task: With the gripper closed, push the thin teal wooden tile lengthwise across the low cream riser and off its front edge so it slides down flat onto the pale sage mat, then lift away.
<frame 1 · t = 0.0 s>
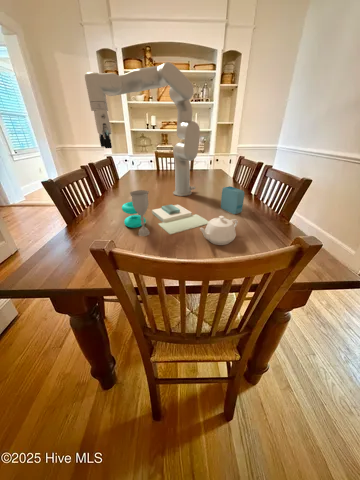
hand: (106, 147, 101), 31 cm above the table, tool pointing down, fingers open, 9 cm apart
mat: (184, 223, 94), on the table
teapot: (218, 240, 81), on the table
riser: (171, 214, 104), on the table
data package: (230, 211, 108), on the table
donuts: (135, 224, 95), on the table
tile: (170, 210, 104), point 2 cm above the table, touching riser
chalice: (144, 233, 87), on the table
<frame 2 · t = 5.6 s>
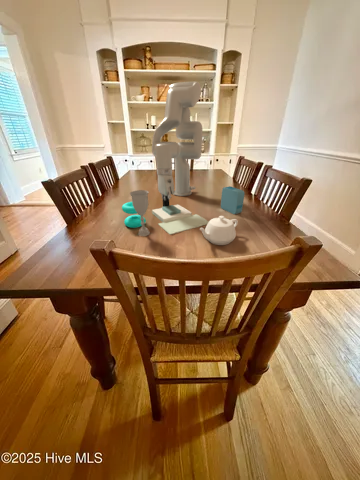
hand: (166, 206, 107), 3 cm above the table, tool pointing down, fingers closed
tile: (171, 211, 103), point 2 cm above the table, touching gripper
everything else where it was.
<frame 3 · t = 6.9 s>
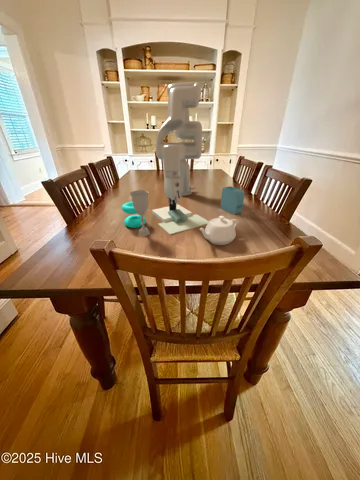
hand: (172, 211, 101), 3 cm above the table, tool pointing down, fingers closed
tile: (177, 216, 97), point 2 cm above the table, tilted 7°, touching gripper
everything else where it was.
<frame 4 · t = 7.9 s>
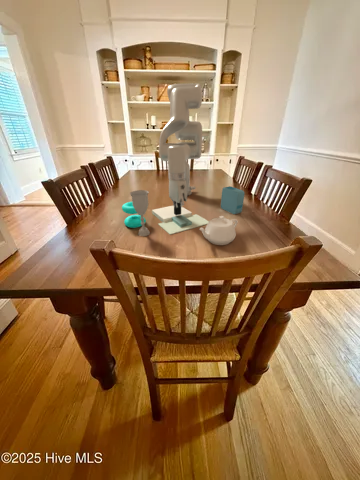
hand: (177, 214, 98), 3 cm above the table, tool pointing down, fingers closed
tile: (181, 222, 95), resting on mat
everything else where it was.
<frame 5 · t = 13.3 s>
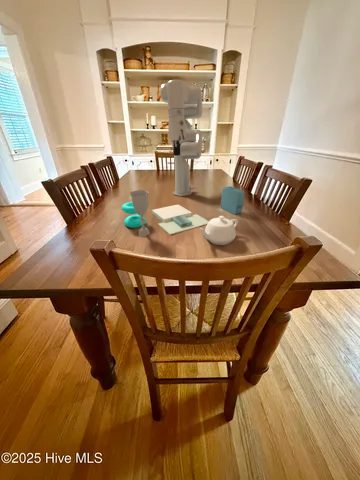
hand: (176, 155, 103), 27 cm above the table, tool pointing down, fingers closed
nothing on the table moved.
at the end: tile inside the target area (2.0 cm from its centre), resting on mat; tile resting on mat; tile tilted 0° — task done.
